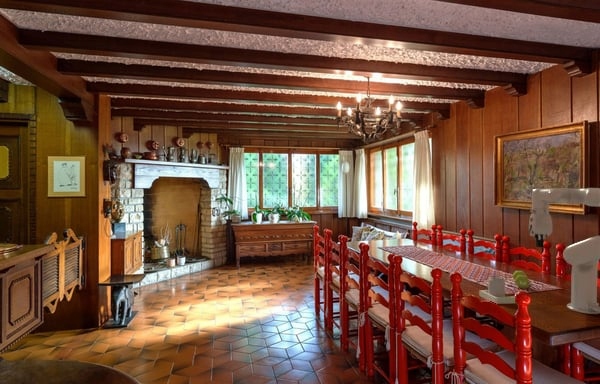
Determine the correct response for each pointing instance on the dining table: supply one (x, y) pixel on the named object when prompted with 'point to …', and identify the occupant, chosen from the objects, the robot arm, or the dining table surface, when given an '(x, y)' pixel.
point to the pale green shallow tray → (496, 298)
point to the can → (496, 286)
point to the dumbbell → (521, 279)
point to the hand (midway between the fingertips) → (539, 246)
